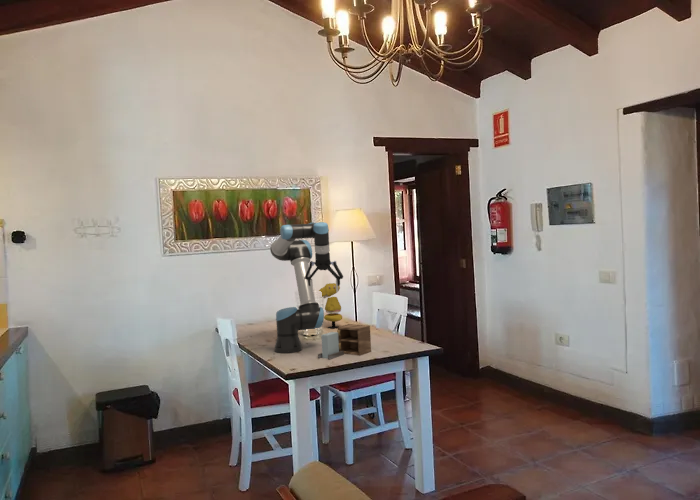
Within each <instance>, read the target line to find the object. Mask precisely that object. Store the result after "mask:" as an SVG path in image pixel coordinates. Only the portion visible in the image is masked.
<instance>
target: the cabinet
mask: <svg viewBox="0 0 700 500" xmlns="http://www.w3.org/2000/svg"><path fill="white" fill-rule="evenodd" d="M336 332H338V341H339V352H337V353H334V354H331V355H328V360H333V359H335V358H338V357H341V356H344V355H352V356H363V355H366V354H368V353H371V352H372V341H371V340H372V339H371V325H368V324H367V325H366V324H355V323H354V324H353V323H352V324H351V323H348V324H344V325H340V327H338V328H337V329H336ZM317 357H318V359H323V358H322V352H321V353H317Z"/></svg>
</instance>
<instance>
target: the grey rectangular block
mask: <svg viewBox="0 0 700 500" xmlns="http://www.w3.org/2000/svg"><path fill="white" fill-rule="evenodd" d="M320 337H321V353H322V358H321V359H326V360H327V359H328V355H331V354H334V353H337V352H339V341H338V332H337V331H330V332H327V333H324V334H321V336H320ZM328 360H329V359H328Z"/></svg>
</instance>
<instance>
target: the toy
mask: <svg viewBox="0 0 700 500" xmlns="http://www.w3.org/2000/svg"><path fill="white" fill-rule="evenodd" d="M340 289H341V287H340V286H338V292H339V291H340ZM318 291H321V292H322V297H321V298H323V299H326V302H325V306H324V311H325V313H327V314H324V320H325V321H328V322H331V326H328V327H327V329H328V328H330V330H335V328H336V329H338V327H340V326H341V325H340V326H339V325H336V322H339V321H341V320H343V315H342V314H340V312H342V306H341V303H340V302H339V299H338V297H337V296H333V295H336V294H337V293H338V292H336V282H334V283H331V282H329V283H326V284H325V285H324V286H323V287H321V288H320V289H319V290H318Z"/></svg>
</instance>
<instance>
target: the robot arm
mask: <svg viewBox="0 0 700 500" xmlns="http://www.w3.org/2000/svg"><path fill="white" fill-rule="evenodd" d="M329 230H330V229H329V224H328V223H327V222H324V221H323V222H322V221H321V222H310V223H309V222H308V223H302V224H300V223H299V224H298V223H297V224H284V225H281V227H280V235H279V237H278V238H277V239H276V240H274V241H273V242H272V243H271V245H270V249H269V250H270V253H271V255H272V257H273V258H275V259H277V260H278V261H283V262H284V261H286V262H290V265H292V266H293V267H294V274H295V279H296V285H297V290H298V297H299V302H300V304H299V305H298V306H297V307H298V308H297V307H296V306H290V307H285V308H281V309H279V310H277V312H276V314H275V321H276V335H277V337H276V340H275V345H274V352H276V353H277V354H290V353H291V354H292V353H297V352H300V351H302V350H303V345H302V342H301V340H300V337H299V331H303V330H306V329H315V328H318V329H320V328H321V327H322V326H323V325H324V320H325V319H324V316H325V314H324V313H325V312H324V311H325V310H324V308H323V307H321V306H319V302H317V301H316V298H315V292H314V287H313V286H314V285H313V277H314V276H315V274H316V273H317V271H319V270H320V271H328V272H329V273H330V274H331V275H332V277H334V278H335V284H336V292H337V293H338V292H339V291H338V286H340V285H341V280H342V279H344V275H343V273H342V272H341V270H340V268H339V266H338V265H337V260H334V261H331V256H330V255H331V254H330V237H329V236H330V235H329V234H330V233H329ZM298 239H299V240H298ZM307 239H314V240H313V241H314V253H315V254H314V255H315V256H314V258H315V261H313V260H311V259H312V258H313V249H312V248H313V247H312V245H311V243H310V242H309V241H308V240H307ZM314 265H315V268H314V270H313V271H312V273H311V270H312V267H314ZM331 265H332V266H333V267H334V269H335V270H334V269H333V268H332V266H331ZM335 271H336V272H335Z"/></svg>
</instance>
